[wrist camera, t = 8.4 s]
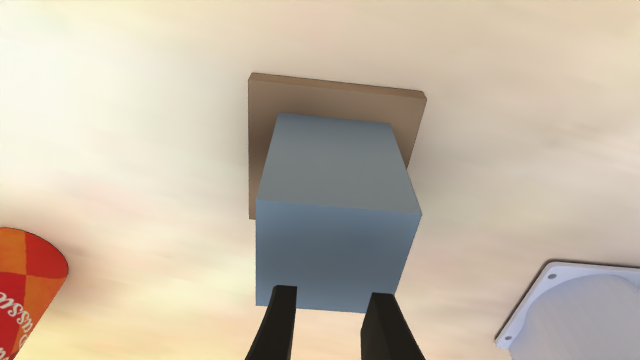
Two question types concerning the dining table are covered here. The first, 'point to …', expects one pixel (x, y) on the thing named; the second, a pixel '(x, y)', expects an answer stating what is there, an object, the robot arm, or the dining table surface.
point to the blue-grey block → (333, 213)
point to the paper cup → (25, 285)
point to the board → (325, 113)
